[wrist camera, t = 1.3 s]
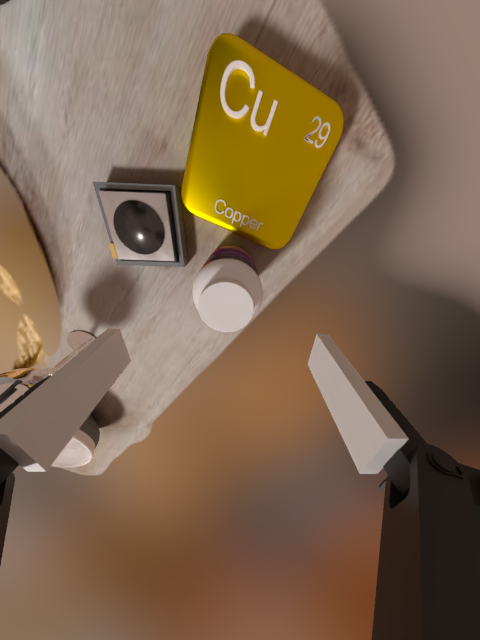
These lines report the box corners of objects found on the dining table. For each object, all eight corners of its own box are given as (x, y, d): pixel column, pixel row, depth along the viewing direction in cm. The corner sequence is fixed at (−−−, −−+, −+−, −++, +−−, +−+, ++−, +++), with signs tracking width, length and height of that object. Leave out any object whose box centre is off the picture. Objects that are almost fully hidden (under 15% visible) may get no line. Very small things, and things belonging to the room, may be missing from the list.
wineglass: (105, 332, 36) (2, 421, 20) (107, 362, 40) (22, 456, 24) (60, 322, 35) (-88, 408, 19) (66, 354, 38) (-51, 447, 23)
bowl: (121, 435, 54) (103, 468, 47) (57, 434, 54) (29, 467, 46) (99, 393, 45) (72, 427, 38) (22, 392, 44) (-20, 426, 37)
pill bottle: (209, 239, 28) (186, 257, 15) (260, 250, 28) (277, 276, 16) (204, 289, 32) (182, 335, 19) (249, 297, 32) (255, 347, 20)
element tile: (185, 209, 26) (175, 207, 22) (218, 56, 19) (213, 11, 15) (277, 249, 29) (284, 255, 25) (334, 129, 22) (357, 108, 18)
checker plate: (108, 193, 23) (97, 190, 22) (170, 195, 24) (164, 193, 22) (125, 256, 27) (117, 259, 26) (178, 258, 28) (174, 261, 26)
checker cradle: (105, 184, 24) (89, 180, 22) (180, 187, 24) (173, 184, 22) (126, 261, 29) (115, 265, 27) (188, 263, 29) (183, 267, 27)
